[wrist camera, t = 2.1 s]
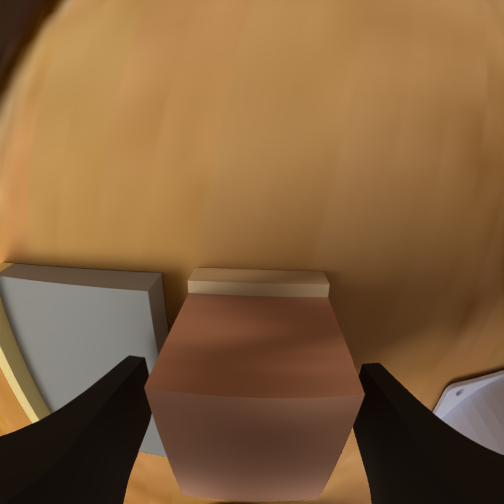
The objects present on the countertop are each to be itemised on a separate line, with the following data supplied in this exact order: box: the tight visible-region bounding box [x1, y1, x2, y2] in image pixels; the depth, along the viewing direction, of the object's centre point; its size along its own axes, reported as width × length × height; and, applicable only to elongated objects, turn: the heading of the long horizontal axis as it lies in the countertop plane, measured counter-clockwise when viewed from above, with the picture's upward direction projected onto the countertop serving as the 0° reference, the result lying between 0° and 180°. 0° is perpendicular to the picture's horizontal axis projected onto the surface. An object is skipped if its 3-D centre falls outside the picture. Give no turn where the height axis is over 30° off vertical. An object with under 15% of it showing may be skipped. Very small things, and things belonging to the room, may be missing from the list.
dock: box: [0, 262, 169, 457], centre depth 11 cm, size 9×10×3 cm
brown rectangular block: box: [144, 267, 365, 501], centre depth 9 cm, size 4×6×6 cm
